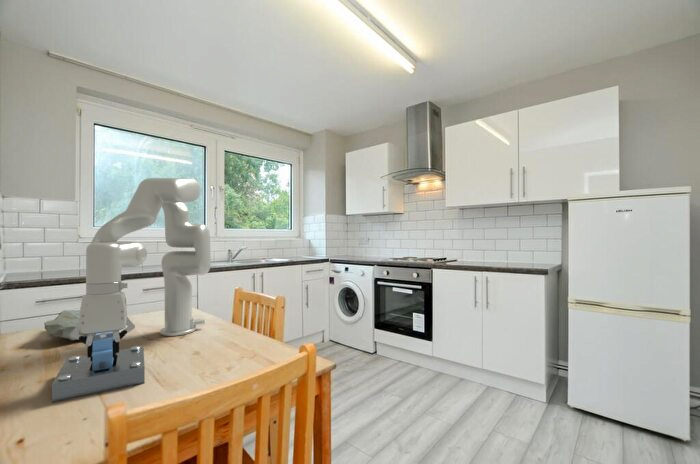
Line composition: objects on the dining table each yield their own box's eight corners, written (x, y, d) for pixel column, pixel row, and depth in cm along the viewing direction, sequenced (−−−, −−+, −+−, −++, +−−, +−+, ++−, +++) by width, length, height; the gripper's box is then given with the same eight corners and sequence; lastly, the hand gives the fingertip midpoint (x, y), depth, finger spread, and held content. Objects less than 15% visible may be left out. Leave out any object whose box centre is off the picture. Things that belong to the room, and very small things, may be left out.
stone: (111, 326, 120) (37, 326, 109) (107, 348, 120) (33, 351, 109) (115, 307, 143) (55, 306, 132) (112, 326, 143) (51, 326, 132)
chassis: (143, 360, 100) (143, 344, 100) (144, 383, 85) (144, 364, 85) (66, 374, 91) (66, 356, 91) (51, 402, 75) (51, 381, 75)
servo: (114, 356, 93) (114, 326, 93) (111, 370, 84) (111, 336, 84) (96, 359, 91) (96, 328, 91) (91, 373, 82) (91, 339, 82)
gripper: (140, 284, 96) (140, 347, 95) (65, 289, 86) (65, 359, 86) (141, 288, 89) (141, 355, 89) (59, 294, 80) (59, 369, 80)
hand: (103, 357), depth 88 cm, fingers closed on servo, 4 cm apart
